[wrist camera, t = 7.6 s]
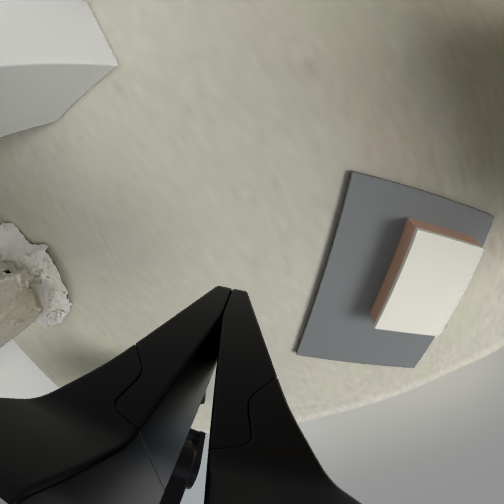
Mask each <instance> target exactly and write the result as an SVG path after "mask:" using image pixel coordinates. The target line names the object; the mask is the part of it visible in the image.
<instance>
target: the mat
mask: <svg viewBox="0 0 504 504" xmlns="http://www.w3.org/2000/svg"><path fill="white" fill-rule="evenodd" d="M408 218H411V219H415V220H419V221H422V222H426V223H429V224H433V225H436V226H440V227H443V228H447V229H450V230H453V231H457V232H460V233H463V234H466V235H469V236H472V237H473V238H474V239H475V240H476V241H477V242H478V243H479V244H480V245H481V246H483V244H484V242H485V239H486V237H487V234H488V232H489V229H490V227H491V224H492V222H493V219H494V216H492V215H491V214H488V213H485V212H483V211H480V210H478V209H475V208H472V207H470V206H467V205H464V204H461V203H459V202H456V201H453V200H450V199H447V198H444V197H441V196H438V195H435V194H432V193H429V192H426V191H423V190H420V189H416V188H413V187H410V186H407V185H403V184H400V183H396V182H393V181H389V180H386V179H382V178H379V177H375V176H371V175H367V174H363V173H359V172H356V171H352V172H351V176H350V180H349V184H348V188H347V192H346V196H345V199H344V203H343V207H342V211H341V214H340V218H339V222H338V225H337V229H336V232H335V236H334V239H333V243H332V246H331V249H330V253H329V256H328V259H327V263H326V266H325V269H324V272H323V276H322V279H321V282H320V285H319V288H318V291H317V294H316V297H315V300H314V303H313V306H312V309H311V312H310V315H309V318H308V321H307V324H306V327H305V330H304V333H303V335H302V338H301V341H300V344H299V346H298V349H297V355H301V356H307V357H314V358H321V359H329V360H336V361H344V362H353V363H362V364H371V365H382V366H394V367H407V368H414V367H415V366H416V364H417V363H418V362H419V360H420V359H421V357H422V356H423V354H424V353H425V351H426V350H427V348H428V347H429V345H430V344H431V342H432V340H433V339H434V337H435V336H431V335H422V334H413V333H405V332H397V331H389V330H382V329H375V327H374V324H373V320H372V316H371V312H370V311H371V309H372V307H373V304H374V302H375V300H376V298H377V295H378V293H379V291H380V289H381V286H382V284H383V281H384V279H385V277H386V274H387V272H388V269H389V267H390V264H391V262H392V259H393V257H394V254H395V252H396V249H397V246H398V244H399V241H400V238H401V236H402V233H403V230H404V227H405V224H406V221H407V219H408Z"/></svg>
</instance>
